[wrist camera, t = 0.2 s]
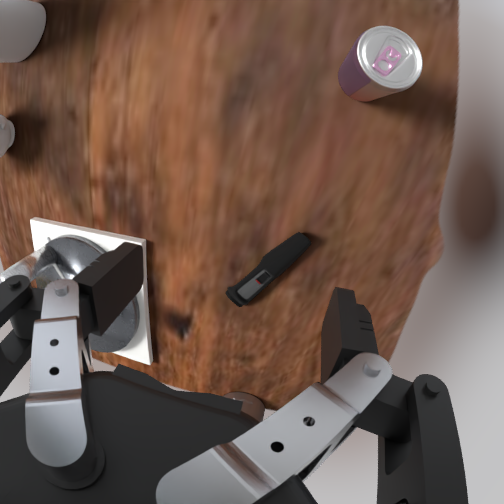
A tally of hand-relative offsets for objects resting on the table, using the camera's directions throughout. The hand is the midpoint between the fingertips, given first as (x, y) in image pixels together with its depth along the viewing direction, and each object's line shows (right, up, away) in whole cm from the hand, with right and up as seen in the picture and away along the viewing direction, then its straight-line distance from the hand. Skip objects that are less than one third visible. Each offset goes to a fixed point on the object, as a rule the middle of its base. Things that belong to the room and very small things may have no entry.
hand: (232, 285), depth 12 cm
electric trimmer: (+3, -1, +33) cm, 33 cm away
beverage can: (+14, +23, +20) cm, 34 cm away
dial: (-30, -7, +39) cm, 50 cm away
